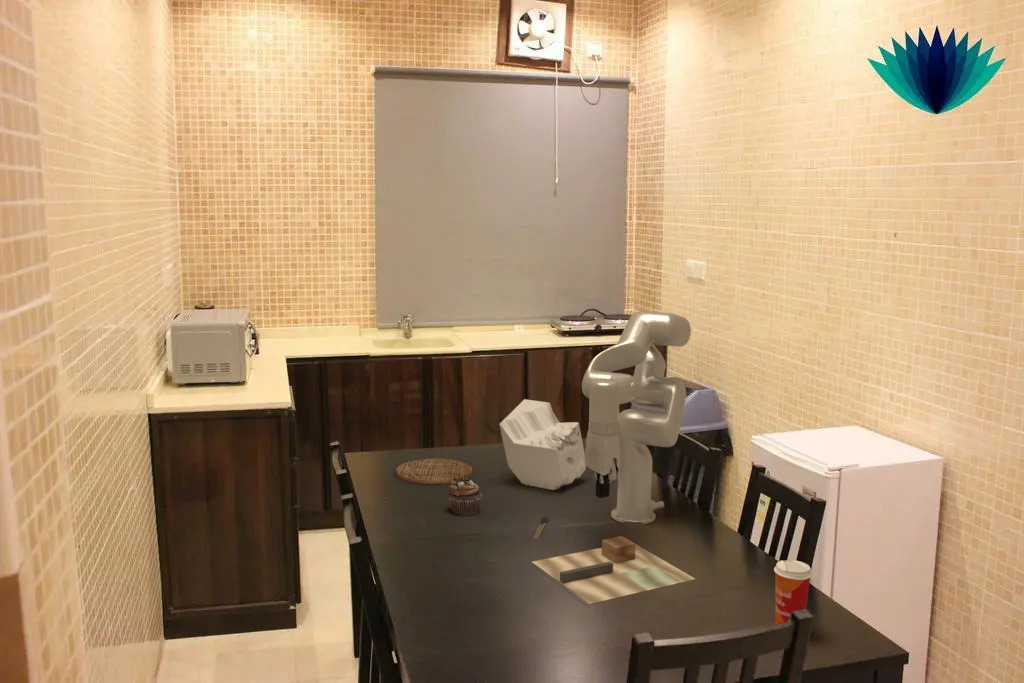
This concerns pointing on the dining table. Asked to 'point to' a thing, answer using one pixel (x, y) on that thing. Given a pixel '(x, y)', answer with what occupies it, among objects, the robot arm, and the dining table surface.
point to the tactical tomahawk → (541, 527)
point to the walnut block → (618, 549)
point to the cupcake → (464, 496)
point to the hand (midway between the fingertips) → (602, 496)
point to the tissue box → (542, 446)
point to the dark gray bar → (586, 572)
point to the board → (614, 574)
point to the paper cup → (790, 588)
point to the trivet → (433, 471)
